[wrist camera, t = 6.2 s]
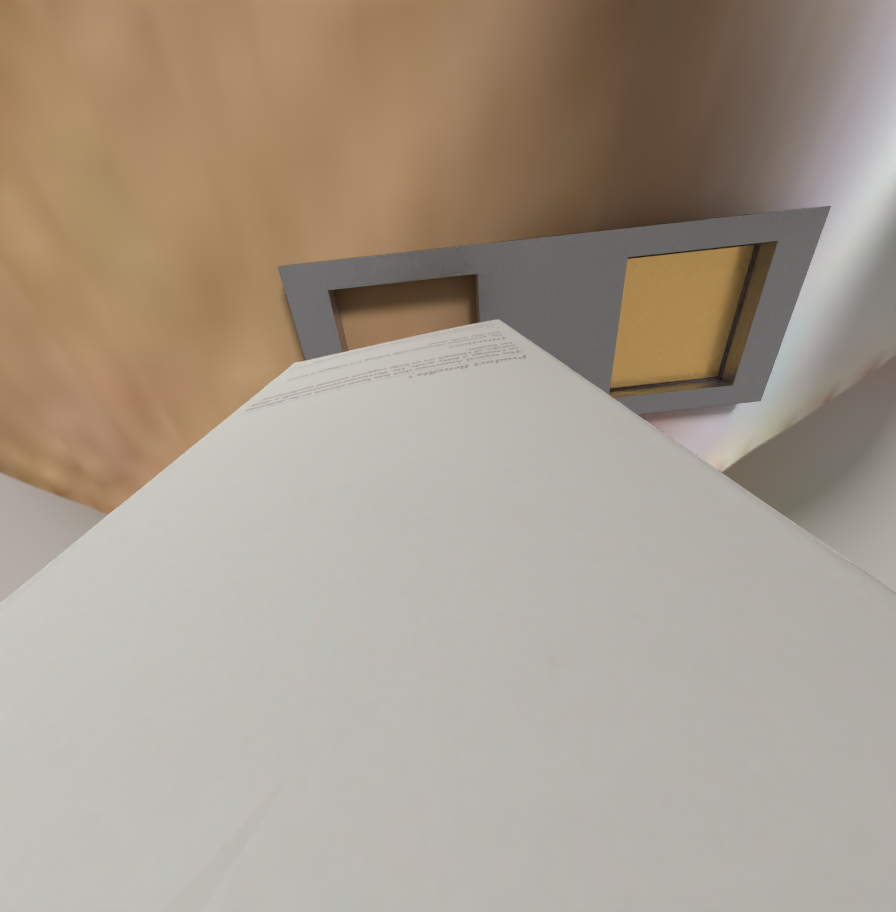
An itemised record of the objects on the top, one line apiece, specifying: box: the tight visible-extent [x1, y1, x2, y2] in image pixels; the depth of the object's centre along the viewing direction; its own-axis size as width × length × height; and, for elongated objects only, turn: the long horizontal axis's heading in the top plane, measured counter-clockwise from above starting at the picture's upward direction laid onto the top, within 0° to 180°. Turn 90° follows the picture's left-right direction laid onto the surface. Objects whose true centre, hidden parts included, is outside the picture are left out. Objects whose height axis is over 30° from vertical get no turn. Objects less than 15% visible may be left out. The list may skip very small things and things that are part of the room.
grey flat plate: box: [278, 206, 831, 414], centre depth 25 cm, size 12×32×2 cm, turn 95°
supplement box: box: [0, 319, 896, 912], centre depth 8 cm, size 7×7×13 cm
